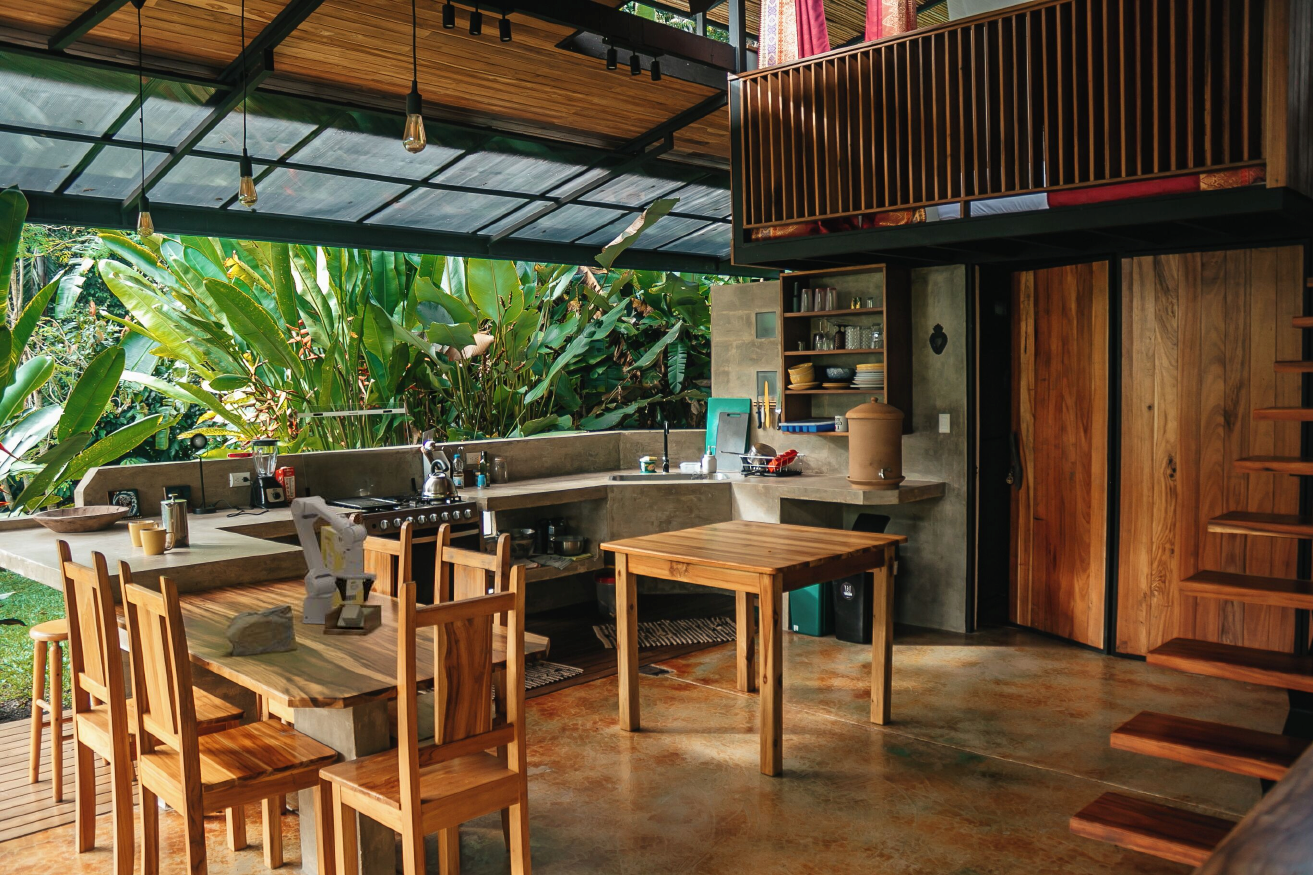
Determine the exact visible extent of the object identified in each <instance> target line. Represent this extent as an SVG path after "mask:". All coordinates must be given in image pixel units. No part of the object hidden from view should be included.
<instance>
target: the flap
mask: <svg viewBox="0 0 1313 875" xmlns="http://www.w3.org/2000/svg"><path fill="white" fill-rule="evenodd" d="M344 608H345V607H343V609H342V612H341V615H340V618H339V621H338V624H337V626H340V627H343V628H345V627H347V628H348V627H350V628H364V624H363V618H362V621H361V624H360V626H346V625H345V623H344V622H343V620H342V618H341V617H342V614H343V611H344ZM373 609H374V608H362V610H363V612H364V615H365V614H366V613H368V612H370V611H371V610H373Z"/></svg>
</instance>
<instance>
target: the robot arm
mask: <svg viewBox="0 0 1313 875" xmlns="http://www.w3.org/2000/svg"><path fill="white" fill-rule="evenodd" d="M290 513H291V515H292V516H291V517H292V520H293V522H294V526H295V529H296V532H297V535H298V540H299V541H300V542H299V543H300V546H301V549H302V553H303V556H304V559H305V562H306V565H307V568H308V571H309V572H307V574H306V575H305V577H304V583H305V584H304V585H305V586H304V589H305V592H306V594H307V595H306V596H305V597H304V599H303V602H302V622H301V623H302V624H309V625H310V624H312V625H313V624H315V625H325V614H326V613H328V612H330V611H331V610H333V609H334V606H333V595H334V592H336V590H337V588H338V590H339V592H340V595H341V599H342V601H345V600H346V586H347V579H350V580H363V582H362V584H363V603H364V602H365V603H366V602H368V601H369V596H370V593H371V590H372V587H373V585H374V583H375V581H376V580H377V573H371V572H364V569H365V568H364V542H365V541H366V539H367V537H368V531H367V529H366V527H365V525H363V524H362V523H361V524H356V523H355V522H354V521H352V520H351V519H349V518H348V517H347V515H346V514H341V513H340V514H338V513H336V512H335V511H334V510H332V508H331V507H329V506H328V504H326V500H325V499H324V498H322V497H321V496H319V495H315V496H309V497H308V496H307V497H296V498H294V499H292V502H291V505H290ZM319 517H321V518H323V519H324V520H325V521H326V522H329V523H330V524H329V526H331V528H332V529H334V530H335V531H336V532H338V533H339V534H340V535H342V539H343V541H344V547H345V548H346V573H334V574H333V572H332V571H331V570H330V569H328V568H326V567H325V565H324V562H323V559H322V555H321V548H320V547H319V543H318V540H317V536H316V534H315V530H314V527H313V524H314V522H316V521H317V520H318V518H319Z"/></svg>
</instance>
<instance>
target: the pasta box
mask: <svg viewBox="0 0 1313 875" xmlns="http://www.w3.org/2000/svg"><path fill="white" fill-rule="evenodd" d="M320 552H321V555H322V559H323V562H324V565H325V567H326V568H328V569H330V570H331V571H332V572H333V574H334V573H346V548H345V547H344V541H343V539H342V535H340V534H339V533H338V532H336V531H335V530H334V529H332V528H331V525H325V526H324V525H323V526H320ZM363 581H364V580H350V579H347V586H346V600H345V601H342V599H341V595H340V592H339V590H338V588H337V590H336V592H334V595H333V608H337V607H339V605H340V604H364V600H363V596H364V592H363V584H362V582H363Z"/></svg>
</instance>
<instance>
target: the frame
mask: <svg viewBox="0 0 1313 875" xmlns="http://www.w3.org/2000/svg"><path fill="white" fill-rule="evenodd" d="M345 605H360V606H361V608H374V609H373V610H371V611H370V612H368V613H366V614H365V615H363V624H364V627H363V629H340V627H341V626H337V624H338V621H339V618H340V615H341V612H342V609H343V607H345ZM380 626H382V604H365V603H363V604H340V605H339V607H334V608H333V610H331V611H330V612H328V613H326V614H325V624H324V629H322V630H323V635H329V636H330V635H334V636H335V635H336V636H361V637H362V636H363V637H365V636H367V635H369V634H370V633H372V632H373V631H374V630H377V629H379V627H380ZM338 628H339V629H338Z"/></svg>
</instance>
